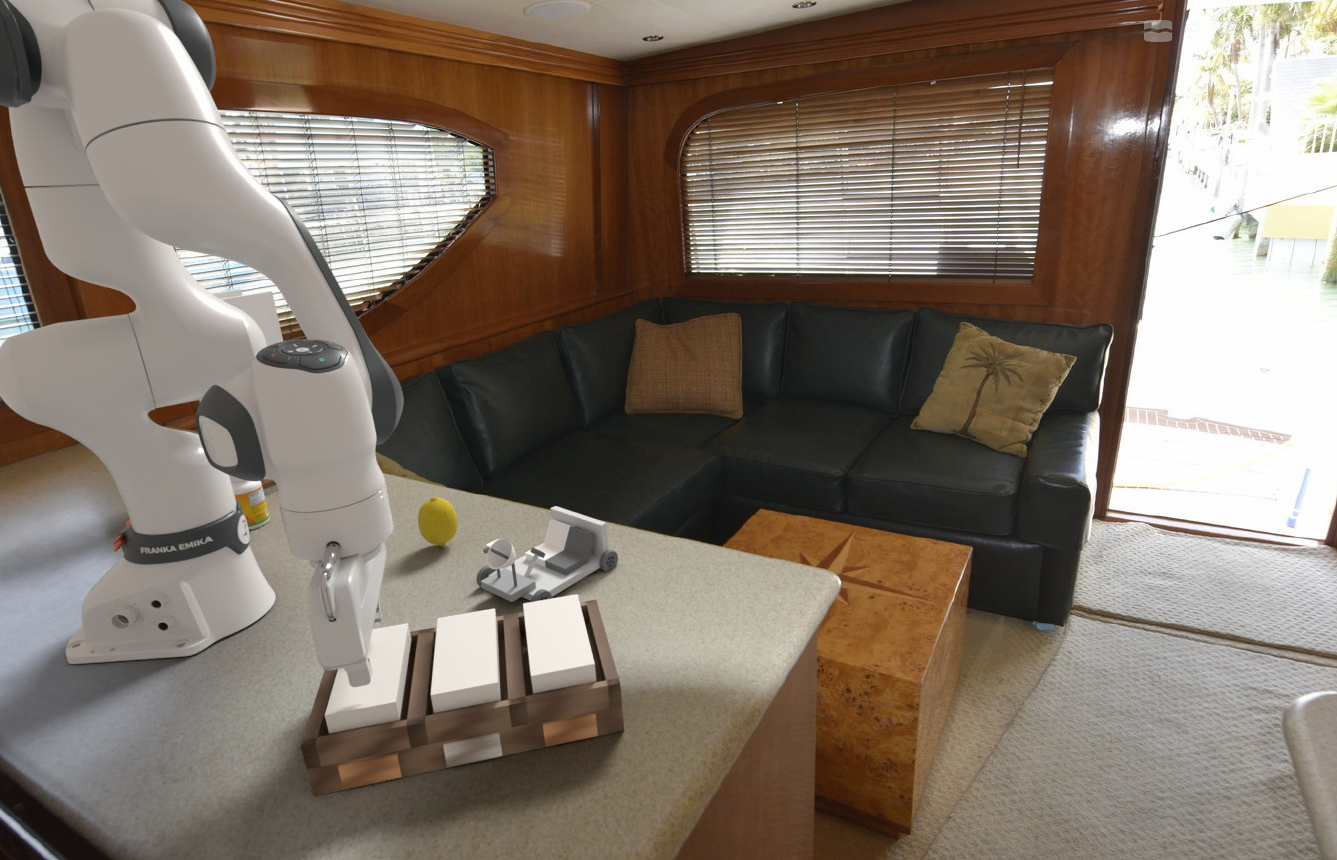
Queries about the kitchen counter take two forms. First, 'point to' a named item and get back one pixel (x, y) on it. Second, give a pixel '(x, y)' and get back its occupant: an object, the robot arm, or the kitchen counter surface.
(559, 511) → the toy car
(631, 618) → the kitchen counter surface
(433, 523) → the lemon
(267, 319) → the white tiered stand
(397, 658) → the switch
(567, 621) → the switch
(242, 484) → the supplement bottle
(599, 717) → the brown boxy piece
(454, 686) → the switch
